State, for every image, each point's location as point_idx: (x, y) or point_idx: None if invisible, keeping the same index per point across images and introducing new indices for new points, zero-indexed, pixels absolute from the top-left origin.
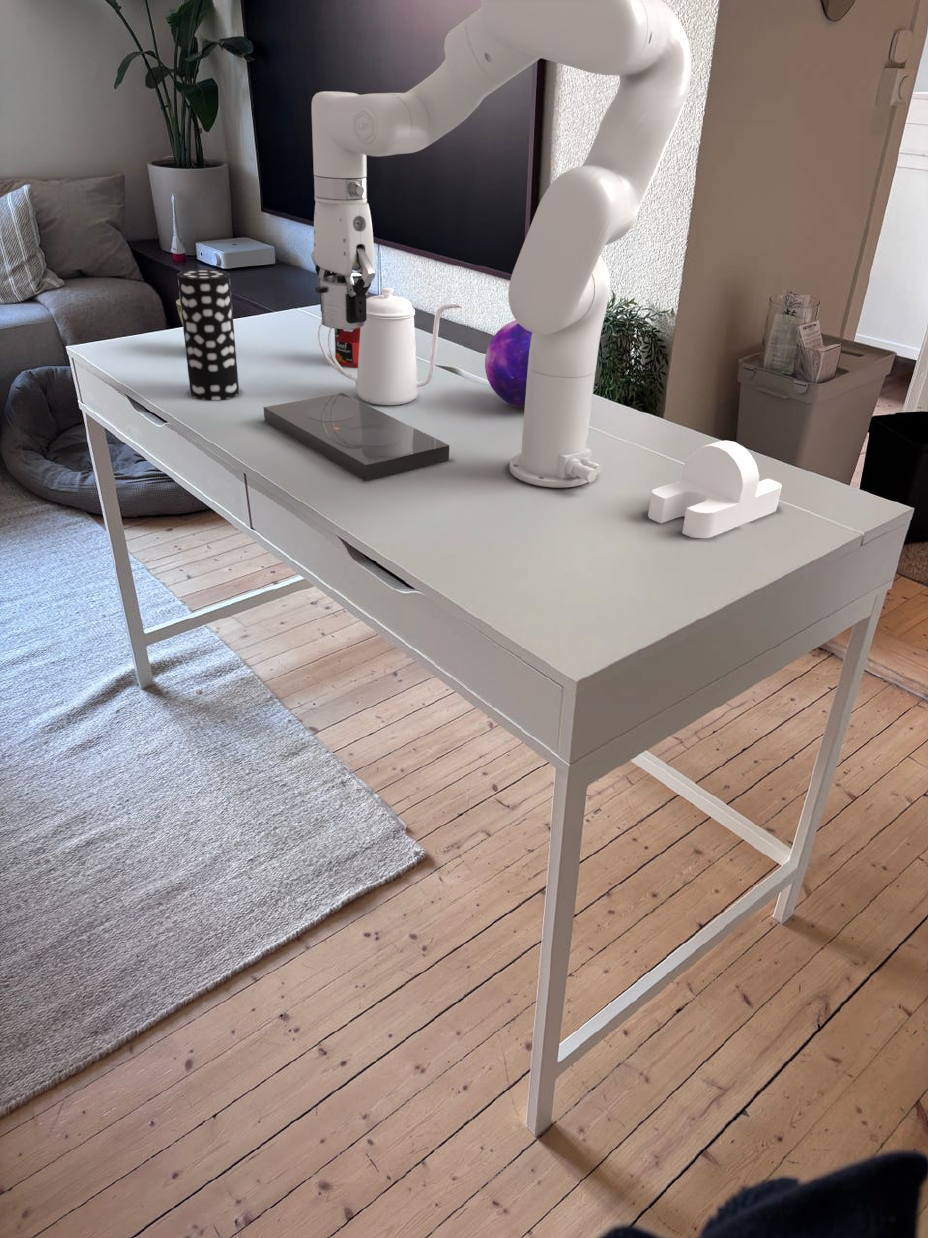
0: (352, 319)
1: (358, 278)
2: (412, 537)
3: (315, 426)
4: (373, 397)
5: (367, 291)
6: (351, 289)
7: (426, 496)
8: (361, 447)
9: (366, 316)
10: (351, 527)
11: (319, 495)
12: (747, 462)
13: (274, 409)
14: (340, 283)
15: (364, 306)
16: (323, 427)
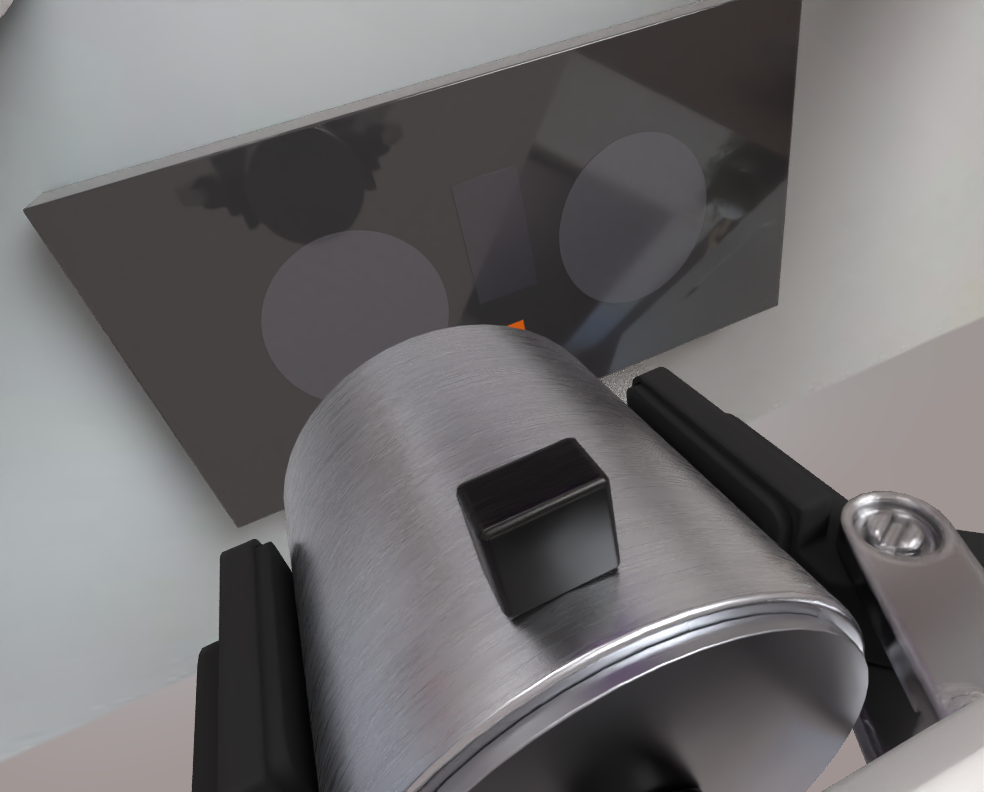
0: None
1: (923, 707)
2: (965, 266)
3: None
4: (2, 9)
5: (932, 517)
6: (875, 663)
7: (878, 172)
8: (681, 288)
9: (679, 378)
10: (876, 359)
11: (748, 394)
12: None
13: (270, 496)
14: (804, 789)
15: (783, 452)
16: None
